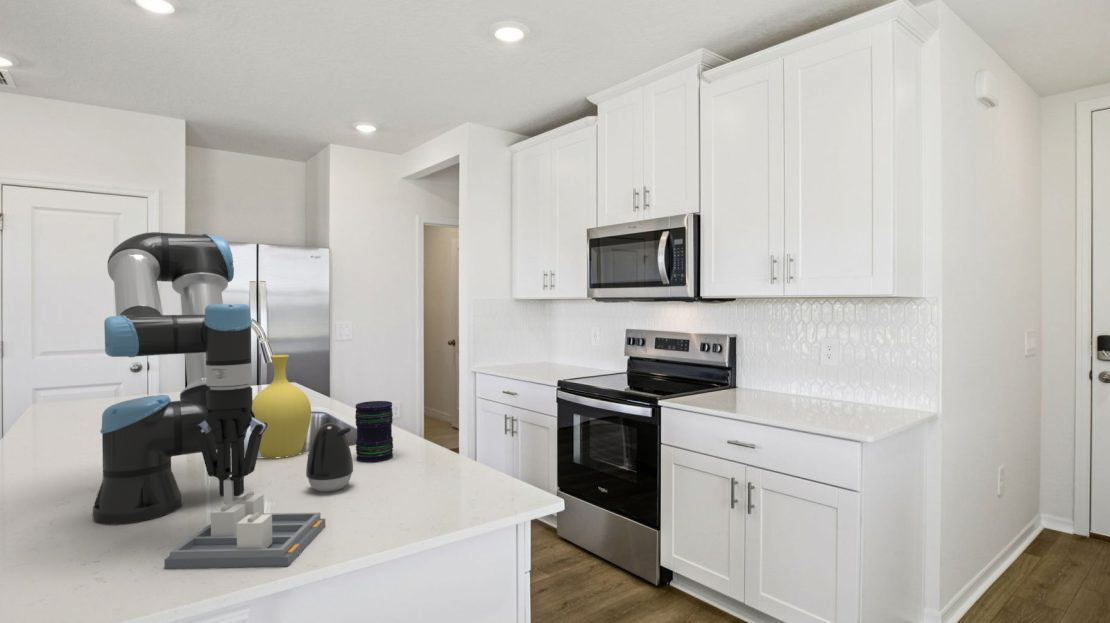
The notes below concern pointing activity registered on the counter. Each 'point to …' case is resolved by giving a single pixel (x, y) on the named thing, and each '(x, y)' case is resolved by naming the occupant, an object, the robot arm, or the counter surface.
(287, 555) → the switch bank
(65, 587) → the counter surface
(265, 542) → the tab
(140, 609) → the counter surface
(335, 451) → the pump dispenser
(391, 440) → the storage jar
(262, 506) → the tab
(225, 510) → the tab
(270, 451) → the vase
